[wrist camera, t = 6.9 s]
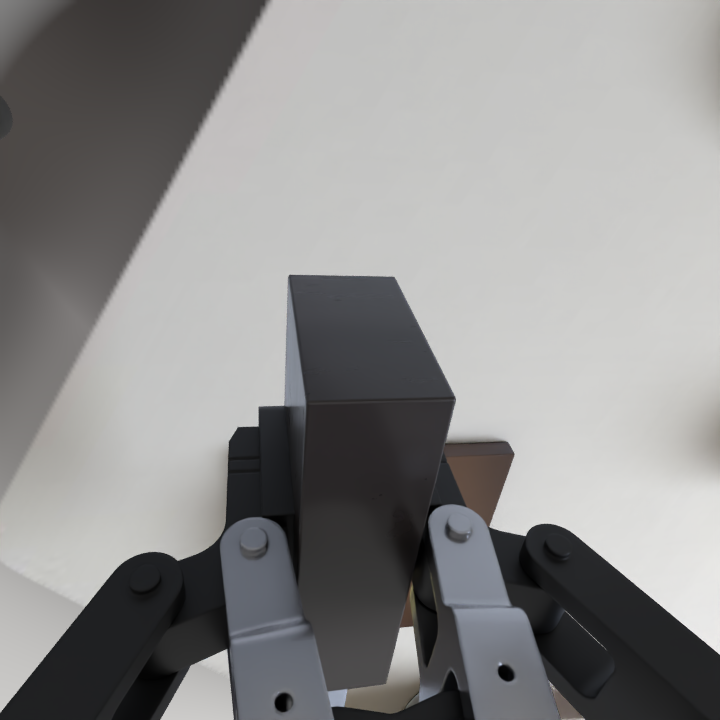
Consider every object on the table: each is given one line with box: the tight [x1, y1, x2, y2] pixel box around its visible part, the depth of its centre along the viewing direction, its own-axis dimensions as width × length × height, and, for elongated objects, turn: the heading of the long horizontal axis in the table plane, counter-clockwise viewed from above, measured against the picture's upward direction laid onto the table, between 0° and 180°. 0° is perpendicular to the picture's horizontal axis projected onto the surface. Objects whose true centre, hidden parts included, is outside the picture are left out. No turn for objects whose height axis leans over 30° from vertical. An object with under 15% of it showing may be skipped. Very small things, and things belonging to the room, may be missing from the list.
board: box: [400, 442, 514, 628], centre depth 33 cm, size 14×16×1 cm
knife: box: [284, 275, 456, 707], centre depth 15 cm, size 19×2×4 cm, turn 174°
